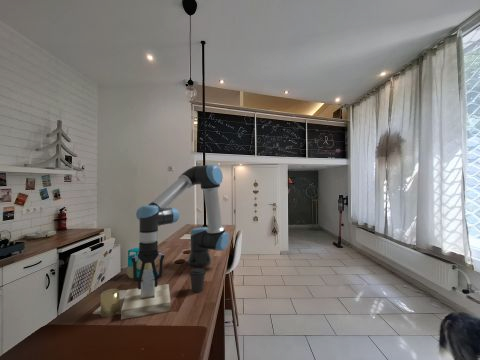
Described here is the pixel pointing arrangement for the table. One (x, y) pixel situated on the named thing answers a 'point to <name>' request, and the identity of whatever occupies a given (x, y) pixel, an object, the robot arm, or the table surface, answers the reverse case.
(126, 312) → the socket board
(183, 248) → the table surface
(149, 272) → the square bit
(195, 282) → the coffee cup
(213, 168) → the robot arm
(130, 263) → the toy train
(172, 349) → the table surface
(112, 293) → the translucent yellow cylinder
